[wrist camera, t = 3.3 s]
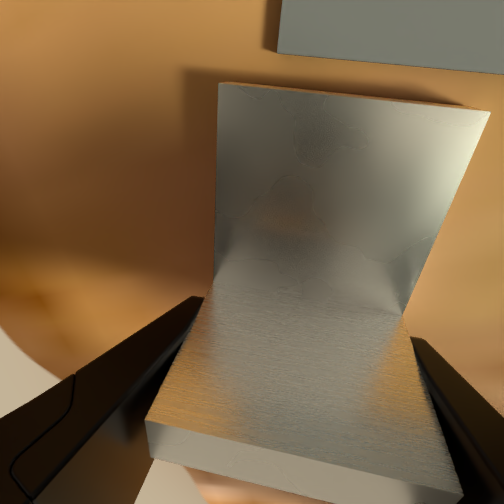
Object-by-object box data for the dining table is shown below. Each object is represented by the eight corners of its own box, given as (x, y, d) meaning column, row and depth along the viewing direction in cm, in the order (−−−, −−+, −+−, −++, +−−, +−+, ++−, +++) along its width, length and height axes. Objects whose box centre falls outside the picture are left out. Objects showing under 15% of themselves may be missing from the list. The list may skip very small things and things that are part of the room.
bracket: (381, 322, 10) (433, 528, 5) (221, 293, 10) (150, 457, 6) (468, 106, 6) (761, 176, 2) (230, 81, 7) (93, 100, 3)
